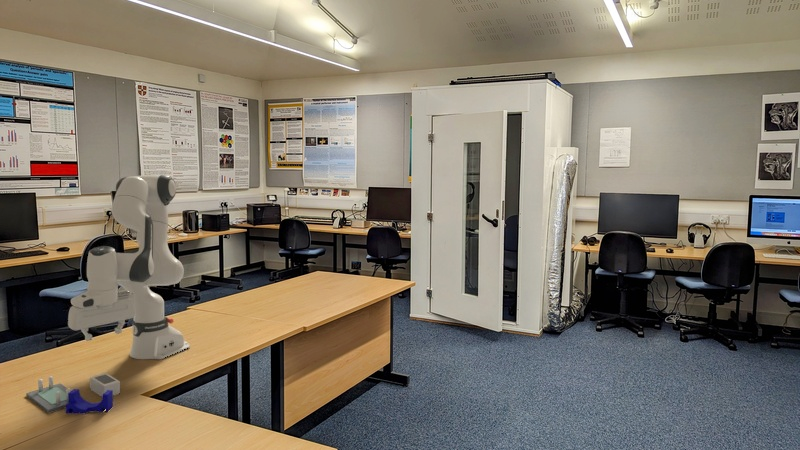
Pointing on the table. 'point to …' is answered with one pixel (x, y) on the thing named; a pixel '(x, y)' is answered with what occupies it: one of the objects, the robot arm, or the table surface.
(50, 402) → the pin tray
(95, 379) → the block
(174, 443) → the table surface
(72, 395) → the cable clip
